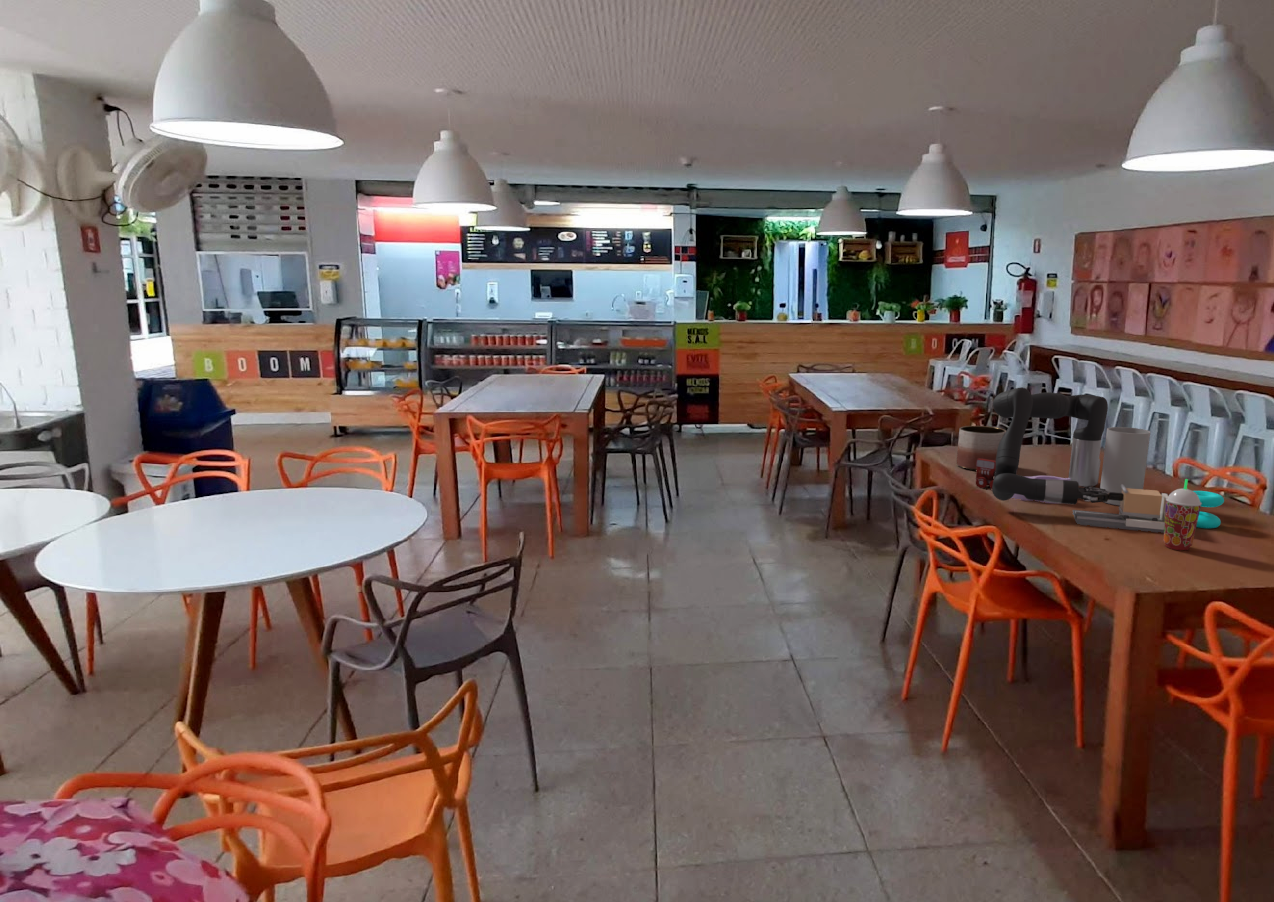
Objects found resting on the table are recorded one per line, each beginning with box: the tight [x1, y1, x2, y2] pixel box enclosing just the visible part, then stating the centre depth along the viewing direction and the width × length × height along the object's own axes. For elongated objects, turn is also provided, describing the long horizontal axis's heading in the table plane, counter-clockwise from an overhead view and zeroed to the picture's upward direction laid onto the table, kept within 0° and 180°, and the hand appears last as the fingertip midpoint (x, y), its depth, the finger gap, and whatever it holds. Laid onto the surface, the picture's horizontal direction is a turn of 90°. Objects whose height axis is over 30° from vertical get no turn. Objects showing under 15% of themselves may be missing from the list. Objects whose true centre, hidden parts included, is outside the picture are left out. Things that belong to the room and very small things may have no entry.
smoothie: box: [1163, 478, 1202, 551], centre depth 226 cm, size 8×8×20 cm
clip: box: [1011, 475, 1071, 505], centre depth 280 cm, size 20×12×7 cm, turn 77°
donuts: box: [1192, 490, 1225, 529], centre depth 248 cm, size 10×10×10 cm
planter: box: [956, 425, 1007, 471], centre depth 325 cm, size 18×18×16 cm
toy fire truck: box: [975, 458, 996, 490], centre depth 294 cm, size 7×12×10 cm, turn 46°
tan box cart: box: [1118, 484, 1162, 521], centre depth 248 cm, size 8×10×10 cm
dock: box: [1072, 492, 1169, 534], centre depth 250 cm, size 14×25×9 cm, turn 67°
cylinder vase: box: [1099, 426, 1151, 507], centre depth 272 cm, size 12×12×25 cm
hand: (1122, 496), depth 250 cm, fingers closed
